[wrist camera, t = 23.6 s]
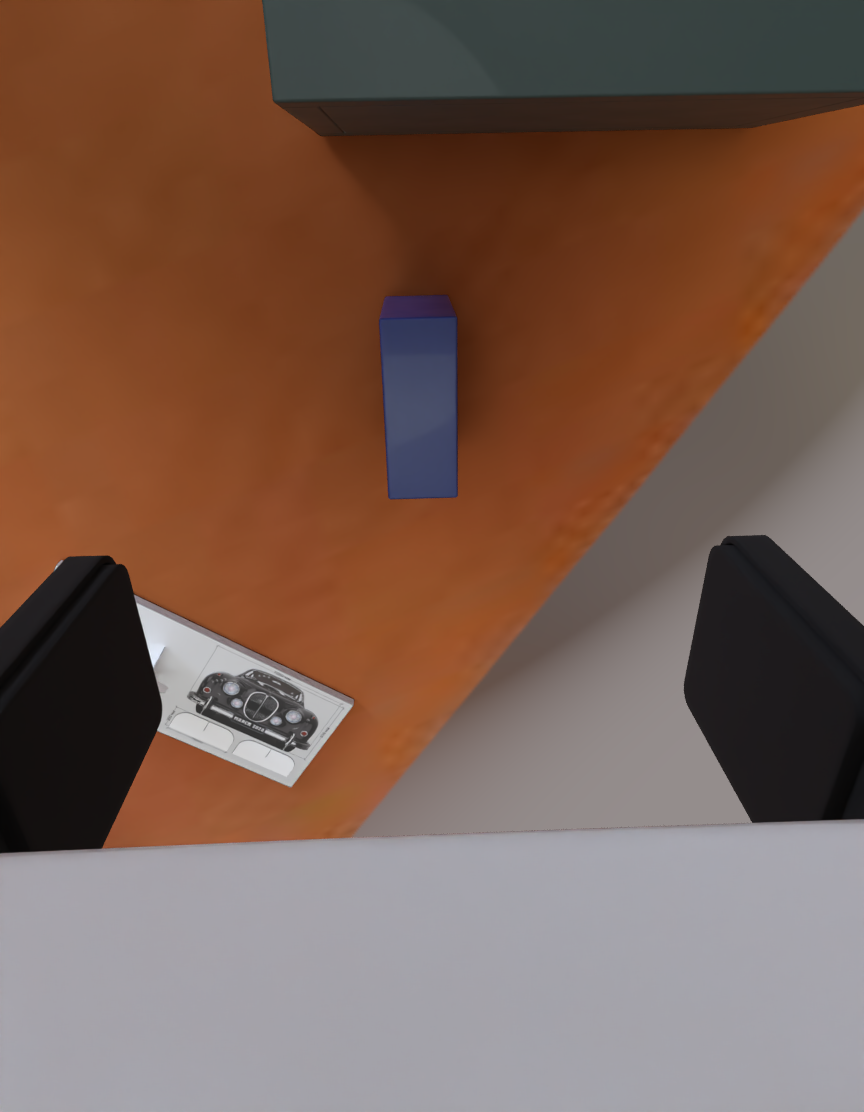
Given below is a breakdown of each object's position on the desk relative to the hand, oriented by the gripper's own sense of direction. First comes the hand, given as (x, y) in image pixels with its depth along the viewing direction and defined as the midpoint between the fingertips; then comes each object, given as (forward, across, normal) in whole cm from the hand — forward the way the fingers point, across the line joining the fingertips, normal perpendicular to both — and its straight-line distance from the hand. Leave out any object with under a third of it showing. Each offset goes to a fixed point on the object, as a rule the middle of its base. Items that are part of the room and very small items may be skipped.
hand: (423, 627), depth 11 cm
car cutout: (+18, +12, +15) cm, 26 cm away
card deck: (+18, 0, 0) cm, 18 cm away
